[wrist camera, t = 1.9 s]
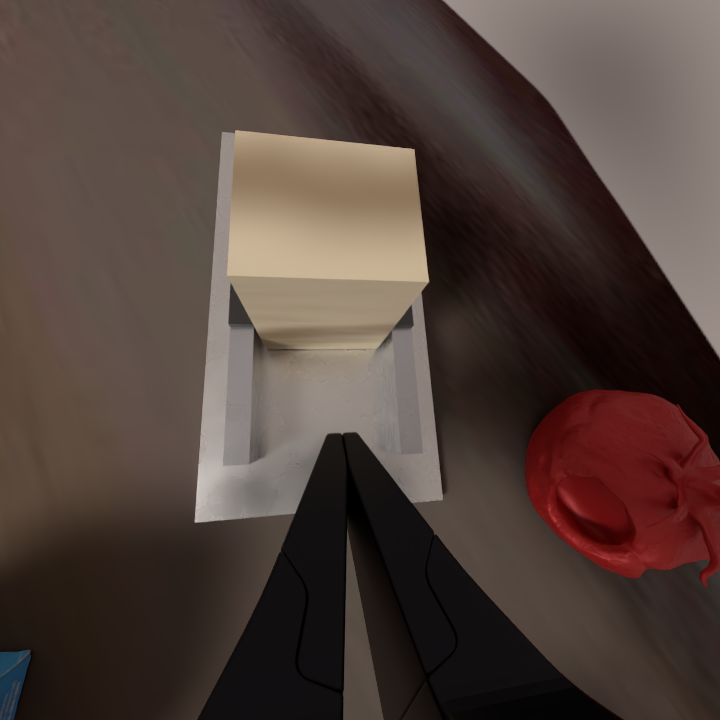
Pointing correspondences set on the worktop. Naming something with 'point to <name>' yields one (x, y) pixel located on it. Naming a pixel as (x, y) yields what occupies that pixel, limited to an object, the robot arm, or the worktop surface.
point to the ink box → (12, 681)
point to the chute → (303, 401)
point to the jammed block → (324, 239)
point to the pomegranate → (627, 482)
